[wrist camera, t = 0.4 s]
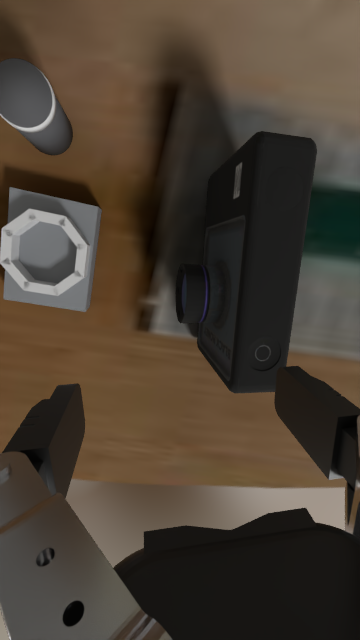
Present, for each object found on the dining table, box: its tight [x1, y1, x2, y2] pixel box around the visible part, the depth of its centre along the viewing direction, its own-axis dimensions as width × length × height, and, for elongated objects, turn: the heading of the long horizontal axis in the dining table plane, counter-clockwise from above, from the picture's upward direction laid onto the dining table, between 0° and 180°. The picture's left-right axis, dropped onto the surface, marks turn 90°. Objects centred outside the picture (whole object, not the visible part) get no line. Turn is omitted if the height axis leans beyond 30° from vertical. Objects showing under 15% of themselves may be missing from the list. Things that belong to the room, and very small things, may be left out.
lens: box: [0, 58, 73, 155], centre depth 27 cm, size 5×5×8 cm
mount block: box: [0, 187, 102, 312], centre depth 32 cm, size 12×9×5 cm
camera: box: [176, 131, 317, 393], centre depth 30 cm, size 23×10×15 cm, turn 175°
